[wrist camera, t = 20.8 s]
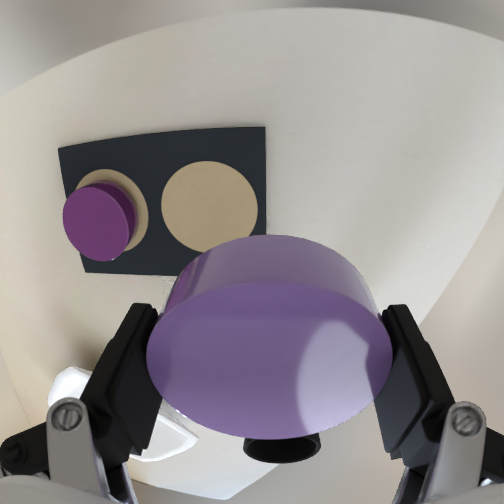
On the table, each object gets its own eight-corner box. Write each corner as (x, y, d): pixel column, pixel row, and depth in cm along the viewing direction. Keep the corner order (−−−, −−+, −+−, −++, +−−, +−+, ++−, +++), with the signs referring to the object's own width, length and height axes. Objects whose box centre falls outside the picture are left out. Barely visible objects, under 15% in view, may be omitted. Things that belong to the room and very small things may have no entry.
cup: (298, 334, 34) (304, 427, 23) (321, 372, 36) (330, 454, 26) (238, 355, 36) (227, 442, 25) (267, 388, 39) (264, 467, 28)
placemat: (59, 148, 25) (56, 149, 24) (265, 127, 23) (265, 127, 23) (86, 270, 31) (84, 273, 31) (265, 275, 30) (265, 278, 30)
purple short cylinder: (72, 180, 26) (55, 190, 23) (135, 174, 25) (120, 183, 23) (87, 246, 29) (72, 260, 26) (146, 246, 29) (135, 262, 26)
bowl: (54, 385, 45) (42, 407, 40) (84, 326, 36) (65, 356, 31) (152, 442, 51) (146, 465, 46) (217, 407, 42) (212, 439, 37)
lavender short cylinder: (155, 226, 9) (115, 278, 7) (385, 226, 9) (424, 278, 6) (187, 377, 13) (173, 432, 10) (350, 378, 12) (361, 435, 10)
